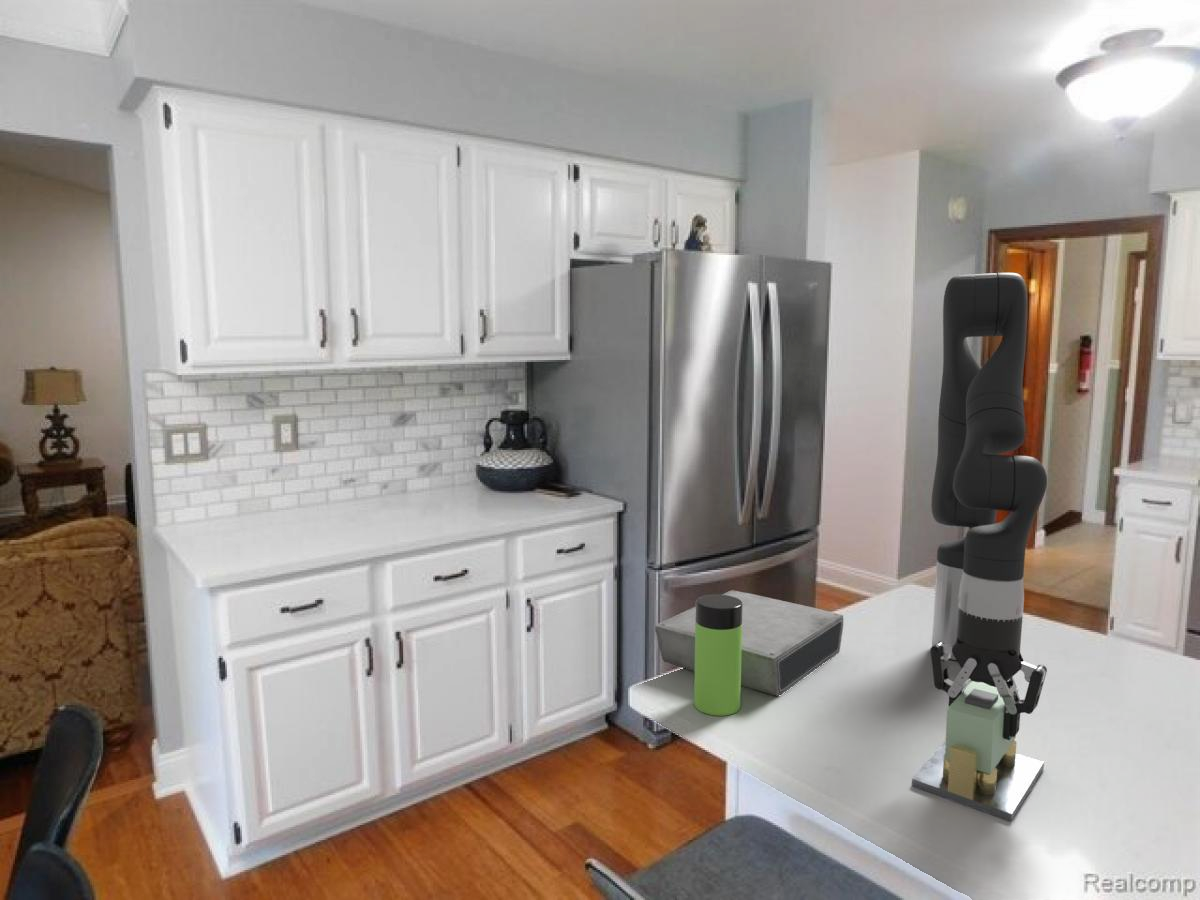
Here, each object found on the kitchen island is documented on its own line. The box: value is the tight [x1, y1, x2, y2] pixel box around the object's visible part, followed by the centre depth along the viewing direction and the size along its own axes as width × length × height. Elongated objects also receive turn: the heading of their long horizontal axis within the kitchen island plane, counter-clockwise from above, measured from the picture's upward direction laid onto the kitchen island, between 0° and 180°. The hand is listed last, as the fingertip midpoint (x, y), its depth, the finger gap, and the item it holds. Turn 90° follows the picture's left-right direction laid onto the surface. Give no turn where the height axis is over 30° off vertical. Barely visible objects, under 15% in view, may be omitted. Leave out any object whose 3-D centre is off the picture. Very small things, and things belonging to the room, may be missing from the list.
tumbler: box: [693, 593, 743, 717], centre depth 127 cm, size 8×8×17 cm
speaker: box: [654, 589, 844, 697], centre depth 148 cm, size 24×8×30 cm
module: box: [945, 681, 1019, 774], centre depth 106 cm, size 12×6×8 cm, turn 139°
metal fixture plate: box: [911, 739, 1045, 822], centre depth 107 cm, size 16×12×7 cm
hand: (982, 729), depth 107 cm, fingers open, 5 cm apart
